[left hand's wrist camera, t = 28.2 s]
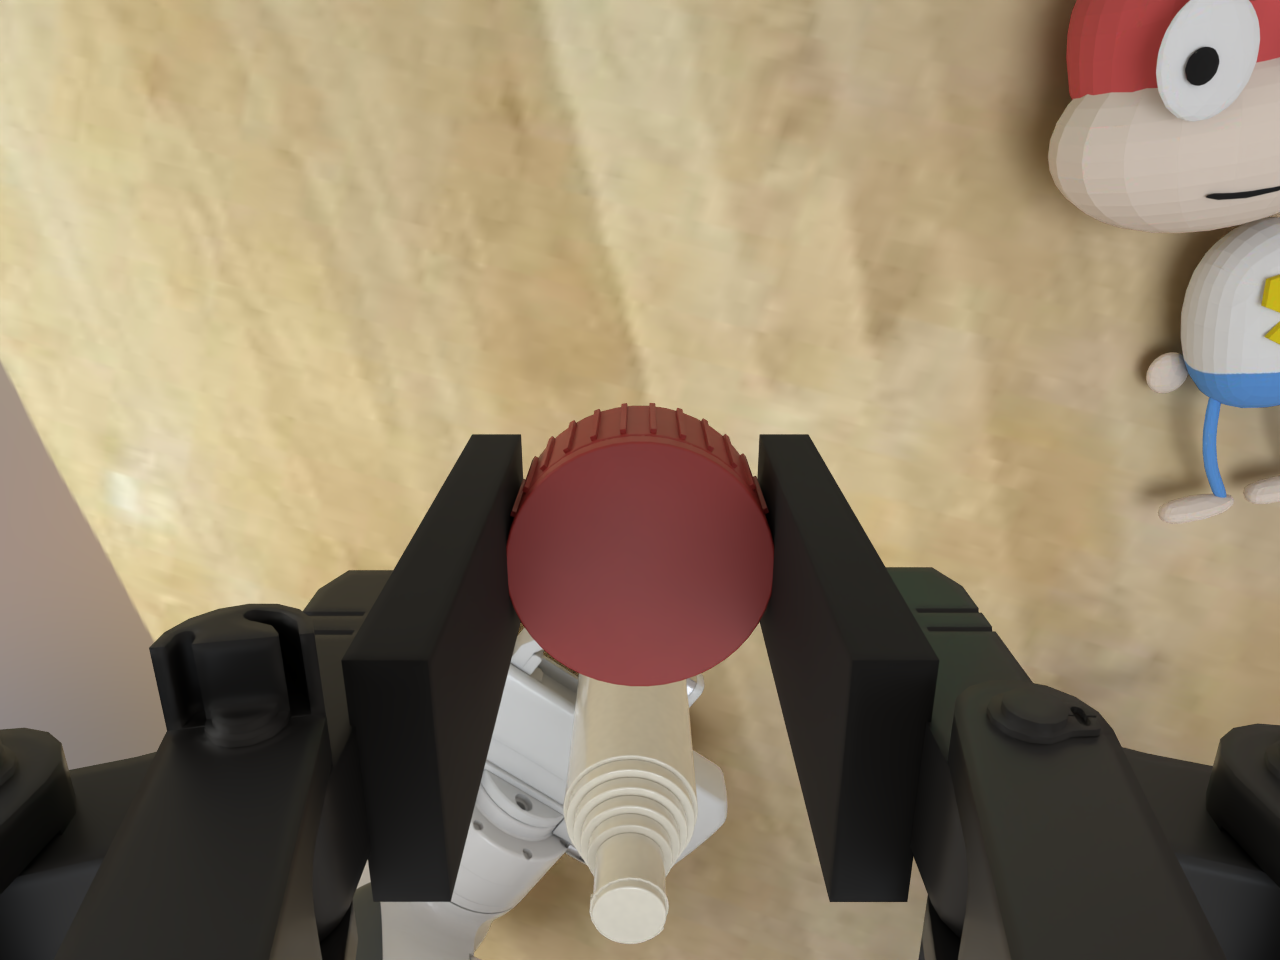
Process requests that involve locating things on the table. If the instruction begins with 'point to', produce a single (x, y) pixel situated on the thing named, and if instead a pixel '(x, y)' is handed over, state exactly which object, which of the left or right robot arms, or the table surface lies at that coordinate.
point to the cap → (640, 547)
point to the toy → (1188, 184)
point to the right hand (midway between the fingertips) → (642, 640)
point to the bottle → (630, 799)
